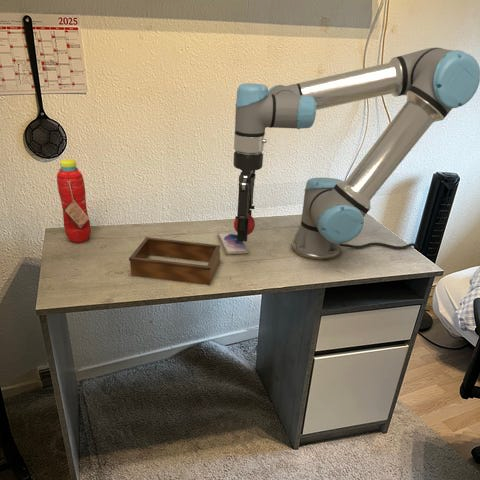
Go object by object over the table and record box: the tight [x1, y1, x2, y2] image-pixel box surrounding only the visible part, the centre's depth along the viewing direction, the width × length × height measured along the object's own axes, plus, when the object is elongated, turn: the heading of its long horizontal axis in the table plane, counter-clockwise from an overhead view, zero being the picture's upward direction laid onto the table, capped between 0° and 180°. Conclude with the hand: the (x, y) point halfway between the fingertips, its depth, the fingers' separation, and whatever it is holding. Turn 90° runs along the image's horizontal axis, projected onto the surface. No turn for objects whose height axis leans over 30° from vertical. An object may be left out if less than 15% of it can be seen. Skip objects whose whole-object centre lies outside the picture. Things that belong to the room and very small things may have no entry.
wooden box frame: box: [128, 236, 222, 286], centre depth 136 cm, size 23×15×6 cm, turn 81°
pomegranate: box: [233, 213, 256, 236], centre depth 131 cm, size 6×6×8 cm
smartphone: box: [217, 232, 249, 255], centre depth 153 cm, size 7×1×15 cm
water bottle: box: [56, 158, 92, 244], centre depth 143 cm, size 12×8×25 cm, turn 14°
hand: (243, 235), depth 133 cm, fingers closed on pomegranate, 6 cm apart
